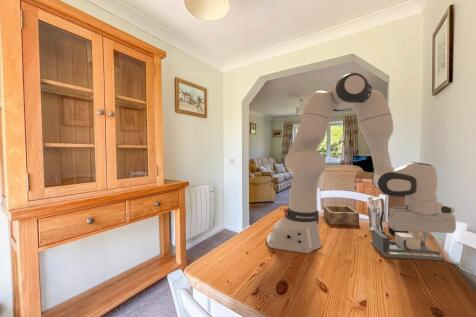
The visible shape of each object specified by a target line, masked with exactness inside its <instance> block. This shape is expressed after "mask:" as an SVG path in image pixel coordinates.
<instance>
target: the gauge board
mask: <svg viewBox="0 0 476 317" xmlns="http://www.w3.org/2000/svg"><path fill="white" fill-rule="evenodd" d="M370 244H371V245H372V246H373V247H374V248H375V249H376V250H378V252H379V253H381V254H382V256H384V257H385V258H396V259H397V258H398V259H400V258H401V259H413V260H431V261H444V260H445V259H444V257H445V256H443V255H441V254H440V251H439V249H438V250H434V249H432V248H430V247H428V246H427V245H426V244H424V243H420V250H418V249H410V251H408V250H407V249H401V248H400V247H399V246H397V245H396V244H395V240H390V239H389V252H383V251H382V250H383V248H382V250H381V249H380V248H379V247H378V246H376V245H375V244H374V240H373V239H372V240H370Z"/></svg>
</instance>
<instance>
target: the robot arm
mask: <svg viewBox="0 0 476 317" xmlns="http://www.w3.org/2000/svg"><path fill="white" fill-rule="evenodd" d="M372 88H373V87H372V85H370V83H369V82H368V80H367V78H366V77H365V76H364V75H363V74H361V73H358V72H350V73H348V74H345V75H343V76H342V77H341V78H339V80H338V81H336V83H335V84H334V85H332V87H331V88H330V90H329V91H323V90H317V91H315V92H313V93H312V94H310V95H309V97H308V99H307V102H306V105H305V106H304V110H303V112H302V114H301V119H300V122H299V126H298V128H297V132H296V135H295V137H294V139H293V141H292V143H291V146H290V147H289V150H288V153H287V154H286V155H285V157H284V161H283V162H284V166H285V169H286V170H287V172H289V173H291V174H292V180H291V185H290V188H289V190H288V193H289V195H288V198H289V199H288V200H289V207H287V206H285V207H283V209H282V211H283V212H284V217H282V218H281V219H280V220H277V222H275V223H273V226H272V229H271V232H269V234H267V236H266V244H267V246H268V247H269V248H271V249H277V250H283V251H289V252H296V253H303V254H310V253H312V252H313V251H315V250H318V249H320V248H322V246H323V243H322V240H321V236H320V232H319V221H320V219H319V218H320V217H319V216H320V215H319V214H320V213H319V210H318V190H319V183H320V180H321V177H322V175H323V173H324V172H325V170H326V168H327V167H326V166H327V163H326V160H325V157H324V156H323V155H322V154H321V153H320V152H318V151H317V150H318V149H319V146H320V145H321V144H322V143H323V142H324V140H325V138H326V136H327V135H326V134H327V131H328V128H329V124H330V121H331V117H332V114H333V112H342V111H346V110H347V109H348V108H351V109H352V110H353V112H354V113H355V115H356V119H357V123H358V127H359V130H360V132H361V135H362V136H363V139H364V141H365V142H366V144H367V146H368V149H369V153H370V157H371V160H372V166H373V172H372V177H371V182H372V185H373V186H374V187H375V189H377V190H378V191H380V192H381V193H383V194H384V195H386V196H388V195H389V196H404V195H405V206H403V205H402V206H398V205H394V206H393V207H391V208H390V209H389V220H388V219H387V225H388V226H389V227H390V228H391V229H393V230H394V231H409V232H410V234H412V235H413V236H415V237H417V238H418V239H420V240H421V241H420V243H424V244H425V245H426V244H427V239H428V238H429V237H430V236H431V233H438V234H439V233H446V234H454V233H455V232H456V230H457V223H456V222H457V221H456V217H455V215H454V214H455V208H454V207H451V206H449V205H446V204H443V203H440V202H438V197H437V190H438V175H437V170H436V168H435V166H434V165H432V164H429V163H426V162H425V163H424V162H417V161H409V162H407V163H405V164H403V165H401V166H399V167H396V168H394V167H393V165H392V162H391V157H390V152H389V146H388V145H389V141H390V138H391V136H392V135H393V132H394V120H393V117H392V112H391V109H390V106H389V104H388V102H387V99H386V98H385V95H384V94H383V93H382V92H381V91H380V90H375V89H372ZM420 232H421V233H422V234H421V236H418V235H419V234H420Z"/></svg>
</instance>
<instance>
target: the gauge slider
mask: <svg viewBox="0 0 476 317" xmlns="http://www.w3.org/2000/svg"><path fill="white" fill-rule="evenodd" d="M394 241H395V244H396V245H397V246H399V247H400V248H401V249H407V250H408V251H410V249H418V250H420V241H421V240H420V239H418V238H417V237H415V236H413V235H412V233H411V232H408V233H395V235H394Z"/></svg>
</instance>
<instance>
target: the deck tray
mask: <svg viewBox="0 0 476 317" xmlns="http://www.w3.org/2000/svg"><path fill="white" fill-rule="evenodd" d="M322 207H323V210H322V211H323V213H322V214H323V215H324V217H323V218H325V219H326V221H327V220H328V221H327V222H328V223H329V224H330V225H350V226H351V225H354V226H359V225H360V213H359V212H358V211H356V210H355V209H354V208H352V207H351V206H350V205H322Z"/></svg>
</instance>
